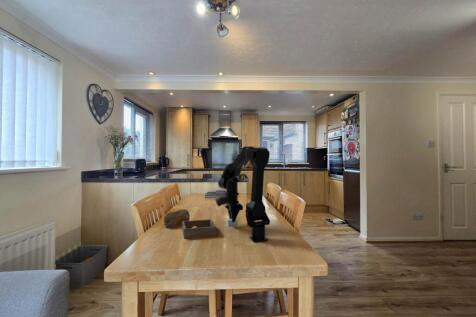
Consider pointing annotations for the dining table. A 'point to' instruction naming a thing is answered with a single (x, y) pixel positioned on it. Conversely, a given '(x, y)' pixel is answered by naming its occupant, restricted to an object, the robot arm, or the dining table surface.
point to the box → (199, 228)
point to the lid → (232, 223)
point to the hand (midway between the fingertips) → (232, 221)
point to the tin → (176, 218)
